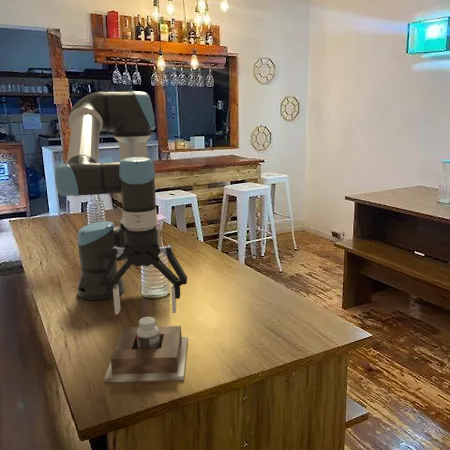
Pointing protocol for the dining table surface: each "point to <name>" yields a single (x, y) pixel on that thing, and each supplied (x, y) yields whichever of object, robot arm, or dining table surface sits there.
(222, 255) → the dining table surface
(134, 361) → the socket block
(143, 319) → the pill bottle
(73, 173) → the robot arm
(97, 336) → the dining table surface
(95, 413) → the dining table surface
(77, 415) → the dining table surface
